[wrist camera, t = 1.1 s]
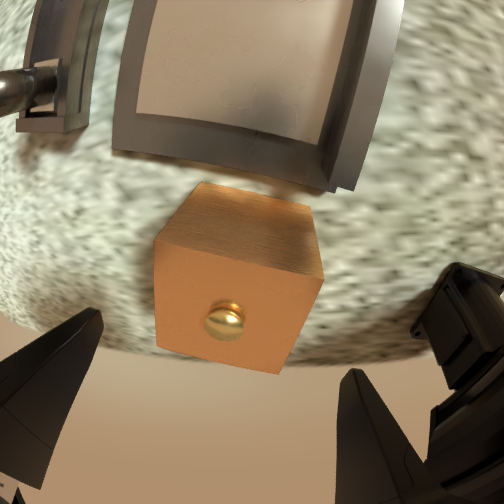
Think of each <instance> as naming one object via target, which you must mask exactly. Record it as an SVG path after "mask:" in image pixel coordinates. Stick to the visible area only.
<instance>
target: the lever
mask: <svg viewBox="0 0 504 504" xmlns="http://www.w3.org/2000/svg"><path fill="white" fill-rule="evenodd" d="M62 61H63V58H58V59H53V60H47V61H43V62H38V63H35V65H34V67H30V68H21V69H14V70H7V71H1V72H0V118H1V117H4V116H7V115H10V114H13V113H17V112H20V111H24V110H28V109H31V111H30V112H38V111H54V110H57V108H58V94H59V84H60V75H61V67H62Z"/></svg>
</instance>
